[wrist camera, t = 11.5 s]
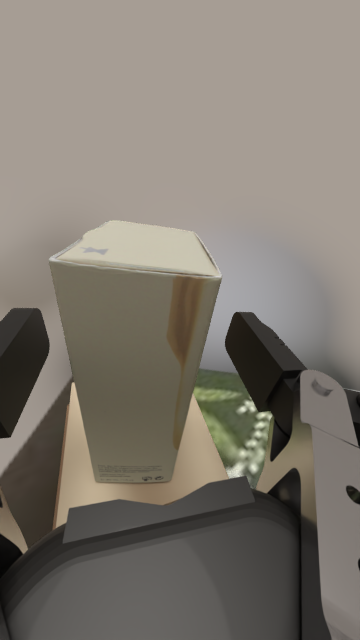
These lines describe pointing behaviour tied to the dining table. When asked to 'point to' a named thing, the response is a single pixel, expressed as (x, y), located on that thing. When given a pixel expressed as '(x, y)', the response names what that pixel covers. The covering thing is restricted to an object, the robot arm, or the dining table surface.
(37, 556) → the robot arm
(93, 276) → the skincare box
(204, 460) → the stepped wooden pedestal
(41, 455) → the dining table surface
